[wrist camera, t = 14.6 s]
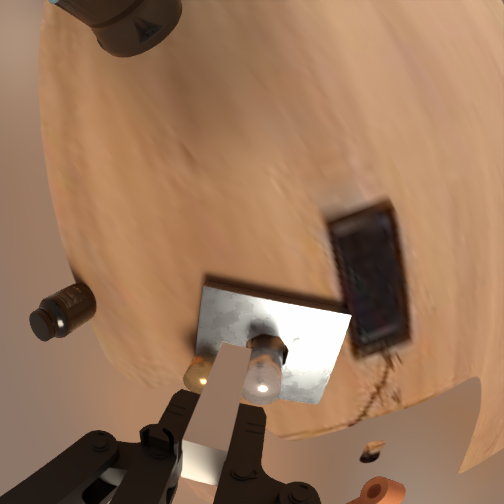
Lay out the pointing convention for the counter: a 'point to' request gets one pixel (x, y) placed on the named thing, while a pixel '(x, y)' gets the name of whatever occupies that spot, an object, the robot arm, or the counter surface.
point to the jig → (272, 323)
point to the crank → (380, 492)
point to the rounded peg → (264, 370)
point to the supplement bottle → (63, 312)
